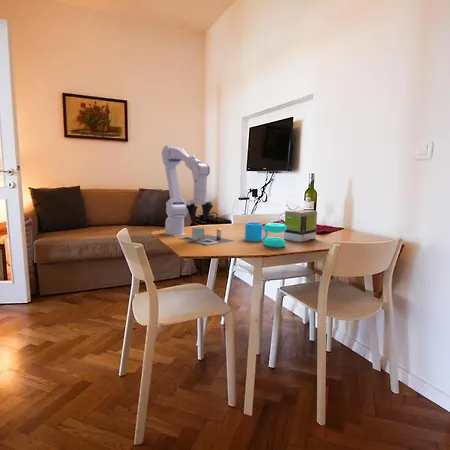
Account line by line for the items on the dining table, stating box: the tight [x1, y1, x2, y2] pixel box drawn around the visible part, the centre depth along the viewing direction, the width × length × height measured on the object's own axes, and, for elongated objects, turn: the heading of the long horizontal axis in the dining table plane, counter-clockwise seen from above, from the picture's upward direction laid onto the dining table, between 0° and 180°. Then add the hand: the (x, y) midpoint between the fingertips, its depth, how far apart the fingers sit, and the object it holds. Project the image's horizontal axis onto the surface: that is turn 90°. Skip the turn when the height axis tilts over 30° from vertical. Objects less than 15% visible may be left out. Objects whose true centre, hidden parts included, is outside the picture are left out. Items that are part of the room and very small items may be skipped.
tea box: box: [283, 208, 318, 243], centre depth 174 cm, size 15×10×15 cm
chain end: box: [183, 226, 218, 246], centre depth 157 cm, size 18×7×6 cm, turn 46°
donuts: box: [263, 222, 287, 248], centre depth 155 cm, size 10×10×10 cm
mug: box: [244, 222, 269, 242], centre depth 165 cm, size 12×8×8 cm
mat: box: [178, 234, 235, 247], centre depth 161 cm, size 19×19×1 cm
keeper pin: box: [216, 228, 222, 240], centre depth 161 cm, size 2×2×5 cm
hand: (199, 220), depth 156 cm, fingers open, 7 cm apart
